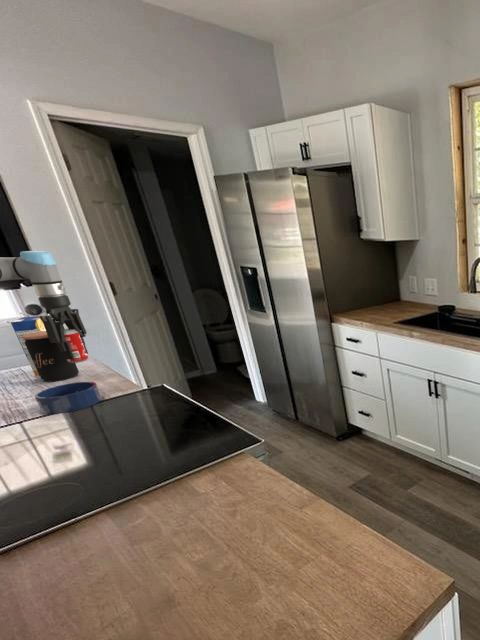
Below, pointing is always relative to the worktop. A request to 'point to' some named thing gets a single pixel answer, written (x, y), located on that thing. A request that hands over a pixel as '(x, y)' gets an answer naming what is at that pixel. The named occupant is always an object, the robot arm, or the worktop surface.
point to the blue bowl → (68, 397)
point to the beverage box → (26, 327)
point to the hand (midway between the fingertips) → (76, 356)
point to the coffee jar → (48, 358)
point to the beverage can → (75, 346)
